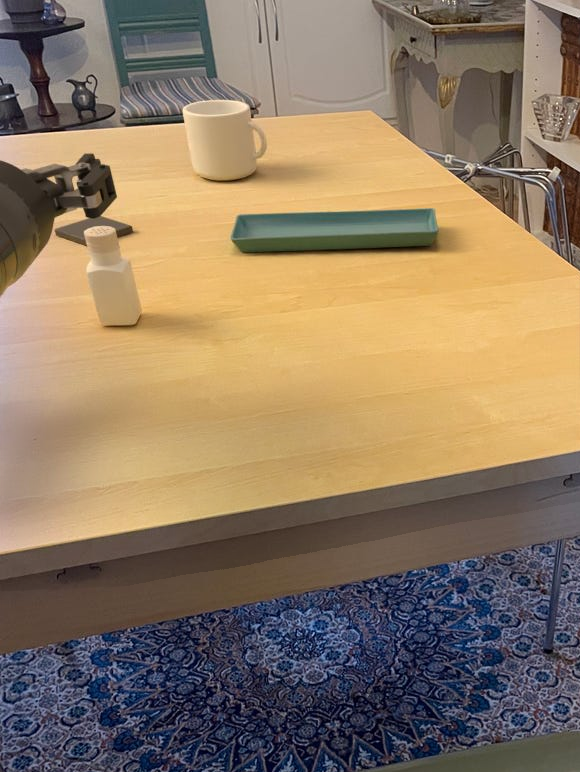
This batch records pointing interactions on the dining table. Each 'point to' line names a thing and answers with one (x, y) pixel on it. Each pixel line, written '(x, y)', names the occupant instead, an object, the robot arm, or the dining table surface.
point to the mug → (222, 139)
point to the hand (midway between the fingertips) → (43, 166)
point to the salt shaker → (111, 279)
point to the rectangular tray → (334, 230)
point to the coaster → (78, 228)
